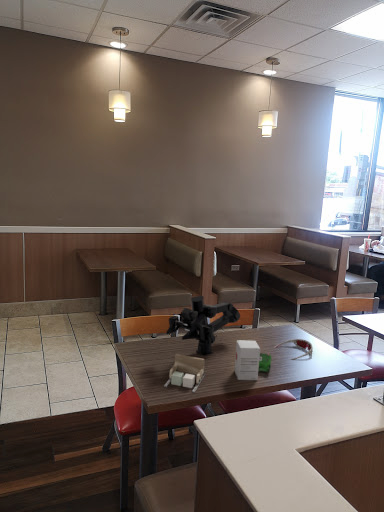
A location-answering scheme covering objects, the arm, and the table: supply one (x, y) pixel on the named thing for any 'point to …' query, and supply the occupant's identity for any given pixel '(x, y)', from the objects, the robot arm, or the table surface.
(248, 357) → the supplement box
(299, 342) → the sunglasses
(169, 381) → the steel handle
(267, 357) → the snack package
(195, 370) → the toy sofa
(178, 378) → the sage block
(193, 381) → the cream block
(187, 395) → the table surface
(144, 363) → the table surface
